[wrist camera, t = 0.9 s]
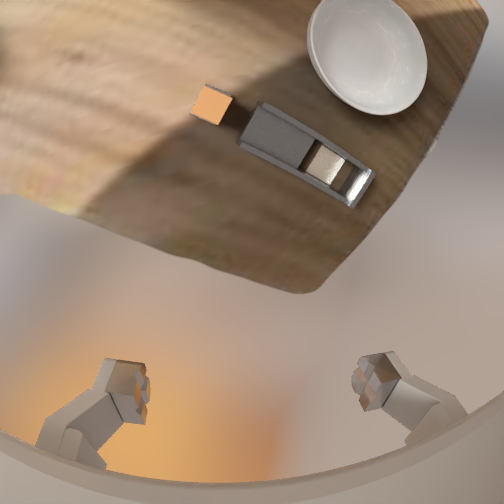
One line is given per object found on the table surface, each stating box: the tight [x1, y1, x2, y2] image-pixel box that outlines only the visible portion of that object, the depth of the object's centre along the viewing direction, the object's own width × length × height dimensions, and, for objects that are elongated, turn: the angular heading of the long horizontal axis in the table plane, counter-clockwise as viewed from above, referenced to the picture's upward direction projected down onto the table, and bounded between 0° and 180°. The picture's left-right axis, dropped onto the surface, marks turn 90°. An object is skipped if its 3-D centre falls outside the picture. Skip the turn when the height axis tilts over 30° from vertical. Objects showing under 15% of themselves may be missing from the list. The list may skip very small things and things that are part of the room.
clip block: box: [190, 86, 233, 125], centre depth 32 cm, size 4×4×4 cm
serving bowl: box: [307, 0, 427, 115], centre depth 29 cm, size 21×21×7 cm
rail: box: [236, 101, 376, 209], centre depth 39 cm, size 7×21×5 cm, turn 61°
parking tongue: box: [190, 84, 231, 125], centre depth 34 cm, size 5×4×1 cm
